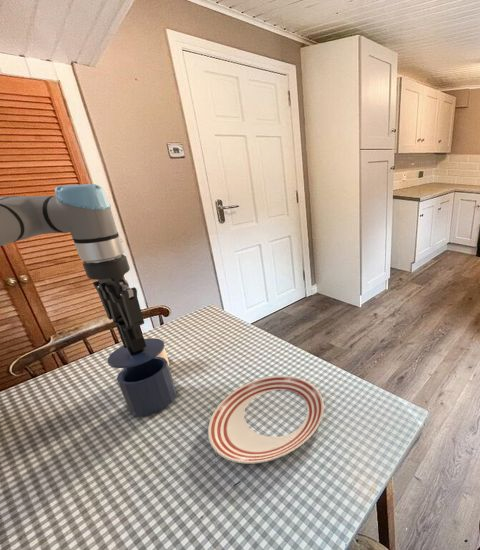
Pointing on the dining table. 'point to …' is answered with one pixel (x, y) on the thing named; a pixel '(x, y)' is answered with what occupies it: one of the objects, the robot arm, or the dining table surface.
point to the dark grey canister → (147, 387)
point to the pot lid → (130, 358)
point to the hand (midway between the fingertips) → (135, 346)
